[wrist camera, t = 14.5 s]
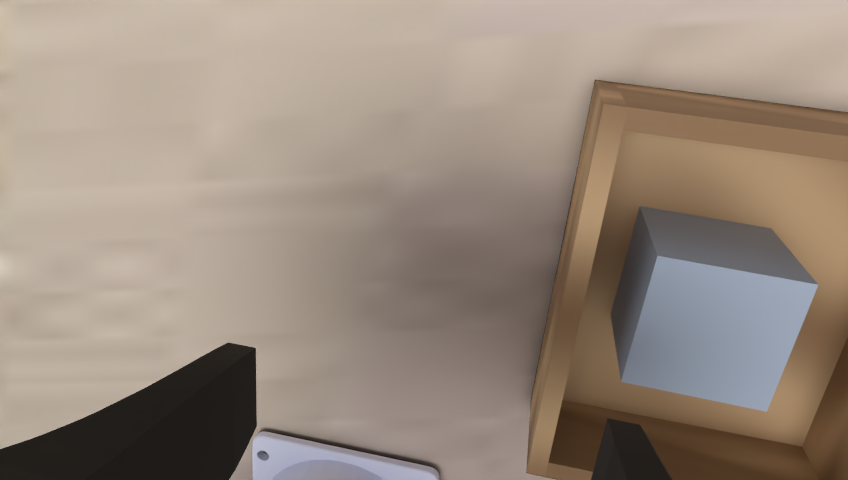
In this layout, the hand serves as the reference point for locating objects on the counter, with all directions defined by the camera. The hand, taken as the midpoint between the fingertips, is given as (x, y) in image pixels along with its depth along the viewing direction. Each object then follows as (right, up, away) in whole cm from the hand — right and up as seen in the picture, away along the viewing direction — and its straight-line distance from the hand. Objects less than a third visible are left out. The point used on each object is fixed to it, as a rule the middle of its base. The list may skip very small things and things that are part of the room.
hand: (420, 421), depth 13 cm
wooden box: (+10, +2, +9) cm, 13 cm away
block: (+9, +3, +8) cm, 12 cm away
